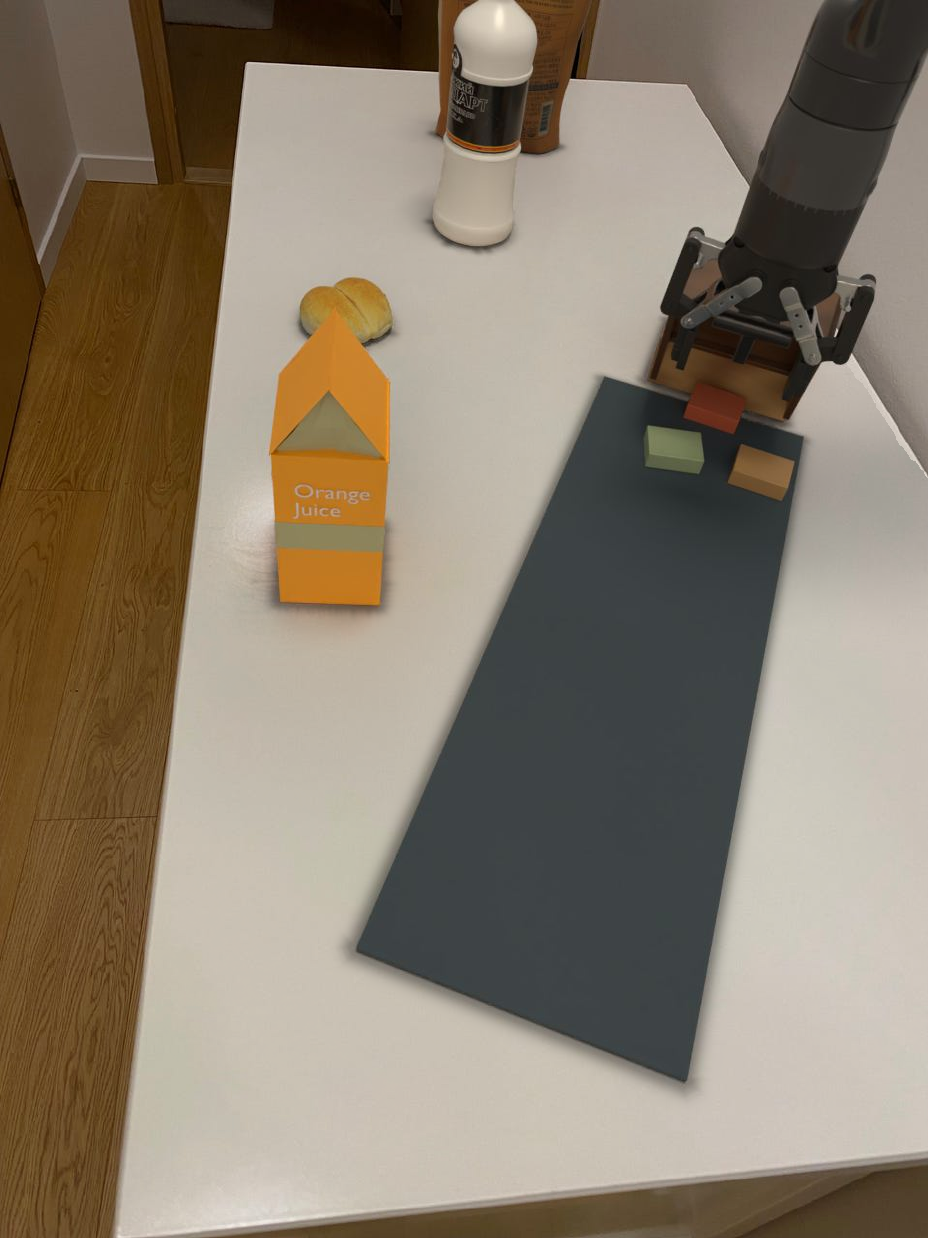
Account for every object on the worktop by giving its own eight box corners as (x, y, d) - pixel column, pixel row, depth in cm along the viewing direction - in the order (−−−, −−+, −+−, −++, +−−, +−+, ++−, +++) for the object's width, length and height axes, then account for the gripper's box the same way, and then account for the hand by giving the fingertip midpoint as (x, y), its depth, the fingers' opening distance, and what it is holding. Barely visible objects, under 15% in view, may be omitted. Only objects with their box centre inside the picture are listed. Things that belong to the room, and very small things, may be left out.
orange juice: (382, 523, 78) (395, 309, 62) (381, 606, 72) (395, 393, 57) (285, 519, 77) (274, 301, 62) (277, 602, 71) (262, 385, 56)
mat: (802, 439, 91) (803, 436, 91) (685, 1082, 53) (687, 1080, 53) (603, 379, 94) (604, 375, 93) (355, 950, 56) (356, 948, 55)
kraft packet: (787, 488, 83) (781, 501, 84) (794, 461, 86) (788, 474, 87) (732, 469, 84) (727, 483, 85) (741, 443, 86) (735, 456, 88)
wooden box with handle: (868, 250, 74) (839, 353, 71) (803, 368, 88) (777, 459, 85) (704, 205, 76) (669, 303, 72) (667, 328, 90) (636, 415, 87)
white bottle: (518, 250, 107) (570, -63, 84) (437, 249, 106) (467, -72, 82) (504, 209, 113) (549, -96, 90) (427, 206, 111) (452, -105, 88)
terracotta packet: (739, 421, 89) (733, 434, 90) (747, 397, 91) (741, 411, 92) (687, 404, 89) (683, 417, 91) (697, 381, 92) (692, 394, 93)
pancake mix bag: (571, 164, 122) (623, -100, 101) (424, 148, 120) (445, -124, 99) (567, 140, 126) (617, -118, 105) (425, 124, 125) (445, -141, 103)
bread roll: (285, 314, 95) (284, 278, 92) (363, 292, 99) (364, 257, 95) (327, 359, 91) (327, 323, 88) (405, 335, 95) (408, 299, 92)
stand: (797, 358, 100) (816, 316, 96) (784, 422, 93) (804, 379, 89) (669, 320, 102) (682, 278, 98) (646, 380, 94) (660, 337, 90)
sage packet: (704, 461, 84) (699, 474, 86) (701, 432, 87) (695, 445, 88) (649, 453, 84) (644, 466, 85) (647, 424, 87) (643, 438, 88)
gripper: (924, 181, 64) (826, 379, 76) (718, 127, 65) (655, 329, 78) (921, 231, 59) (817, 434, 71) (699, 171, 61) (636, 379, 73)
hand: (733, 379), depth 75 cm, fingers open, 8 cm apart
